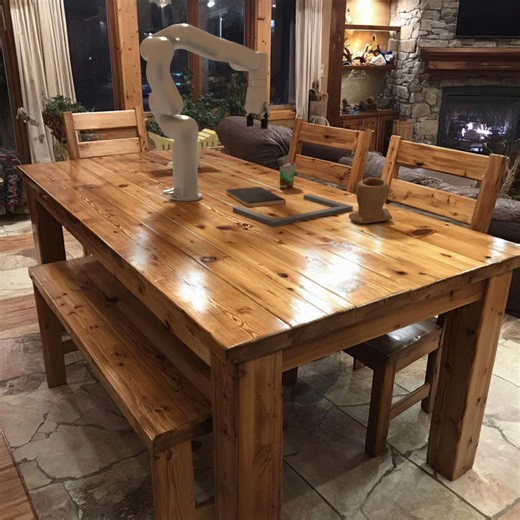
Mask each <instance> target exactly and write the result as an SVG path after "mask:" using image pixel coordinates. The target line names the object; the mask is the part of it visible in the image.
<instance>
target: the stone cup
mask: <svg viewBox="0 0 520 520" xmlns="http://www.w3.org/2000/svg"><path fill="white" fill-rule="evenodd" d="M388 191H389V185H388V182H387V181H386V180H385V179H383V178H381V177H380V178H379V177H367V178H365V179H361V180H360V181H359V182H358V183H357V186H356V192H355V193H356V194H355V195H356V202H357V205H358V207H357V209H358V211H356V212H352V213H349V214H348V218H349V219H350V220H351V221H353V222H356V223H357V224H370V223H371V224H372V223H379V222H384V221H390V220H393V217H392V214H391V212H390V210H389V209H388V208H384V205H385V201H386V199H387V196H388V194H389V193H388Z"/></svg>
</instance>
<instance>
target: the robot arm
mask: <svg viewBox="0 0 520 520" xmlns="http://www.w3.org/2000/svg"><path fill="white" fill-rule="evenodd" d="M179 49H181V50H186V51H188V52H191V53H192V54H196V55H199V56H201V57H203V58H205V59H208V60H211V61H216V62H225V63H228V64H229V66H230V68H231V69H233V70H234V71H240V72H248V87H247V90H246V96H245V104H244V105H243V108H244V112H245V117H246V127H254V114H256V115H258V114H259V115H260V117H261V118H260V129H261V130H266V129H267V130H268V129H269V128H268V127H269V119H270V116H271V113H272V107H271V106H270V105H269V92H268V91H269V90H268V66H269V64H268V62H269V56H268V53H267V52H265V51H255V50H254V49H252V48H250V47H248V46H246V45H243V44H239V43H236V42H235V41H230V40H227V39H225V38H222V37H219V36H216V35H214V34H211V33H209V32H207V31H205V30H202V29H200V28H198V27H196V26H193V25H191V24H188V23H178V24H172V25H170V26H167V27H165V28H164V29H161V30H159V31H158V32H156V33H154V34H152V35H150V36H147V37H146V38H144V39H143V40H142V42H141V43H140V45H139V53H140V56H141V57H142V58H143V60H145V61H146V66H145V67H146V69H145V73H146V80H147V82H148V85H149V87H150V90H151V92H150V94H149V96H148V105H149V109H150V111H151V114H152V115H153V117H154V119H155V121H156V123H157V124H158V127H159V129H160V130H161V132H162V133H163V135H164V136H165V137H166V138H168V139H173V140H174V143H173V148H172V150H171V158H172V160H171V161H172V162H173V169H172V178H173V180H172V181H173V186H170V188H169V189H165V190H162V191H161V192H162V196H169V198H170V199H171V200H173V201H179V202H193V201H198V200H201V199H202V198H203V194H202V192H199V181H198V180H199V179H198V178H199V176H198V173H199V172H198V168H197V141H198V134H199V132H200V130H199V125H198V123H197V121H196V120H195V119H194V118H192V117H191V116H188V115H183V114H181V113H182V111H183V110H184V100H183V98H182V96H181V93H180V91H179V90H178V88H177V86H176V84H175V82H174V79H173V77H172V74H171V70H170V69H171V62H172V60H173V57H174V54H175V51H177V50H179Z"/></svg>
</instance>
